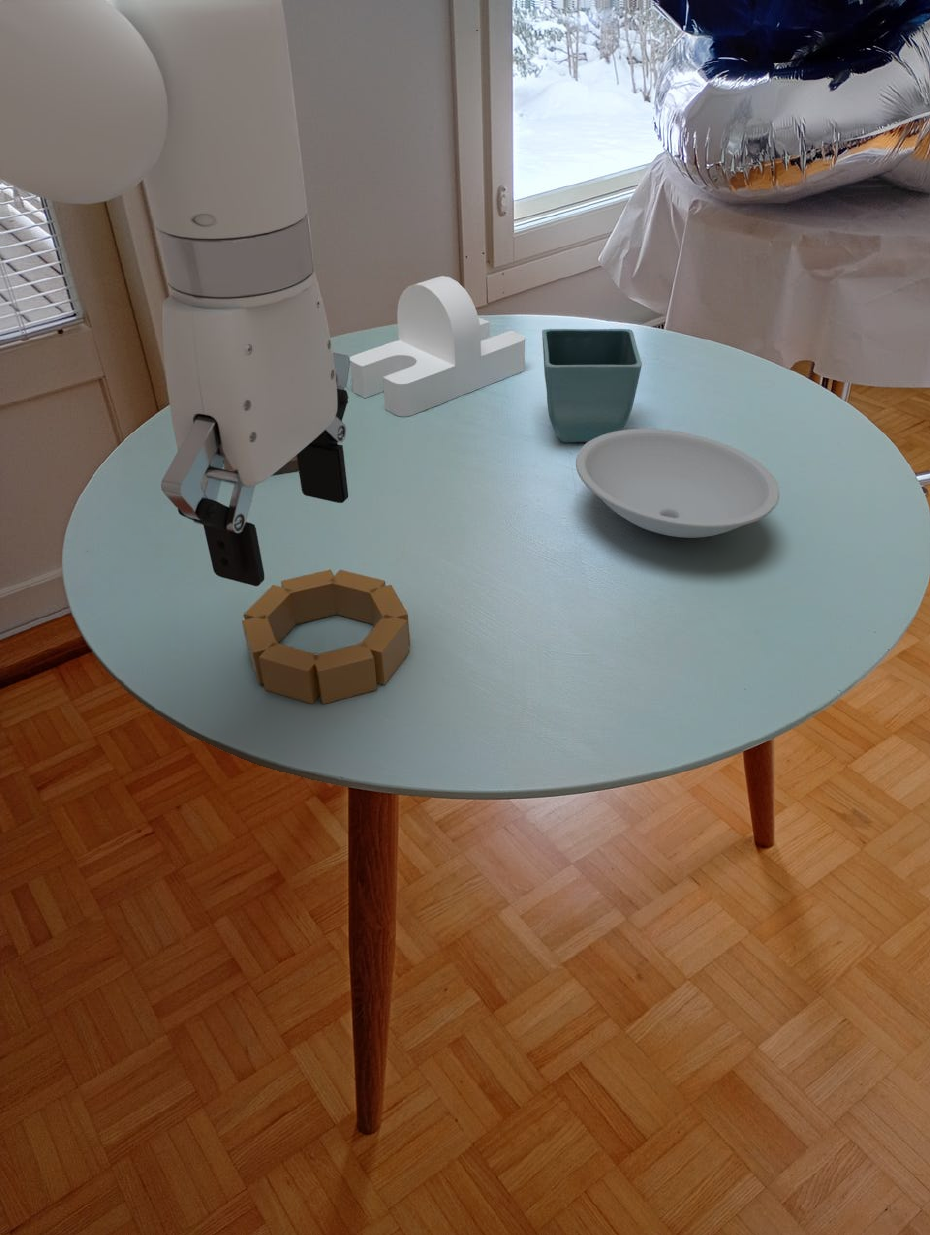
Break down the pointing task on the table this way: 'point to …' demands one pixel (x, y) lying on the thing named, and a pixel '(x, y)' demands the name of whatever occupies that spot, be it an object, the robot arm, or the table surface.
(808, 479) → the table surface
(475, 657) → the table surface
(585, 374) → the flower pot
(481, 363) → the white slotted bracket
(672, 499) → the dish
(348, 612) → the segmented block ring
